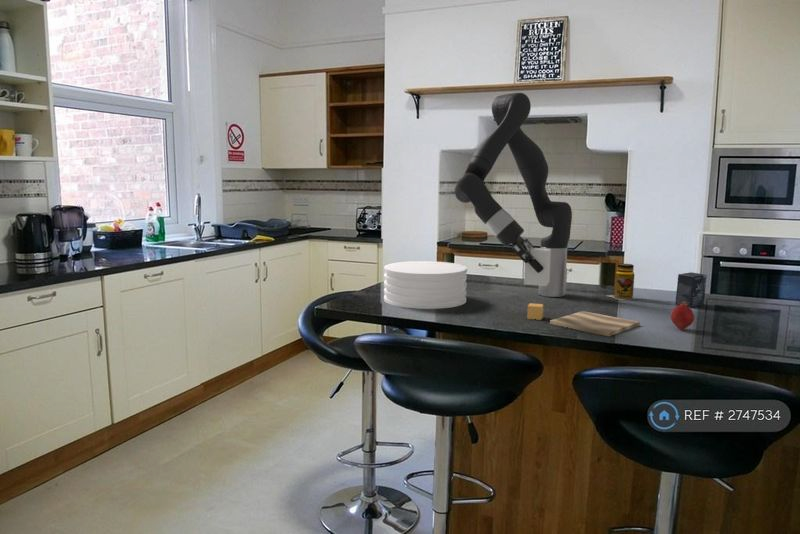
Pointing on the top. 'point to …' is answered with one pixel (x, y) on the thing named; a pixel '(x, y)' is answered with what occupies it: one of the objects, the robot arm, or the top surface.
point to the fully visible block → (535, 311)
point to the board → (595, 323)
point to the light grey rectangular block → (543, 277)
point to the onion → (682, 316)
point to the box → (691, 289)
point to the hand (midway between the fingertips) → (543, 268)
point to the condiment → (624, 282)
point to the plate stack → (425, 284)
